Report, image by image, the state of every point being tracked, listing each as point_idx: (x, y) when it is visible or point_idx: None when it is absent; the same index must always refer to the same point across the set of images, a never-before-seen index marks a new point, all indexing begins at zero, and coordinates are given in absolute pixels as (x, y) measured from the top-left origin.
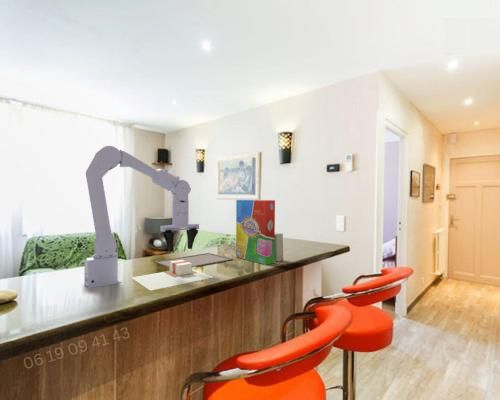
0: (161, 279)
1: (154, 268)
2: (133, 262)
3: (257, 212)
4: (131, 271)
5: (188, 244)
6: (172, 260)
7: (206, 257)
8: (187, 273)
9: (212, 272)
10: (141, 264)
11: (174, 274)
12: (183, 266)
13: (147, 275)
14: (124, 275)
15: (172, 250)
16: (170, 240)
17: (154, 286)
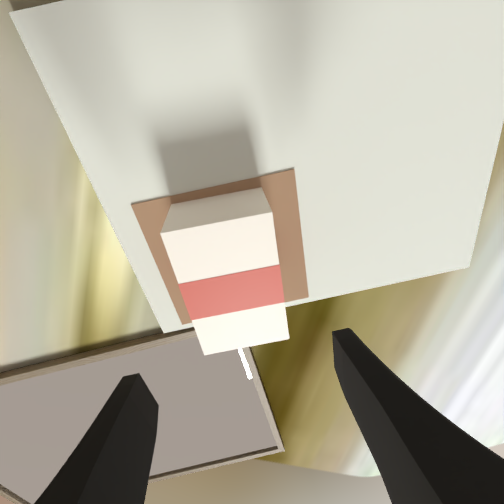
0: (373, 159)
1: (313, 376)
2: (349, 458)
3: None
4: (407, 363)
5: (144, 442)
6: (212, 450)
7: (44, 461)
8: (201, 199)
9: (20, 199)
10: (336, 433)
11: (275, 227)
12: (231, 214)
13: (396, 270)
14: (456, 321)
15: (337, 337)
16: (447, 431)
17: (480, 3)
